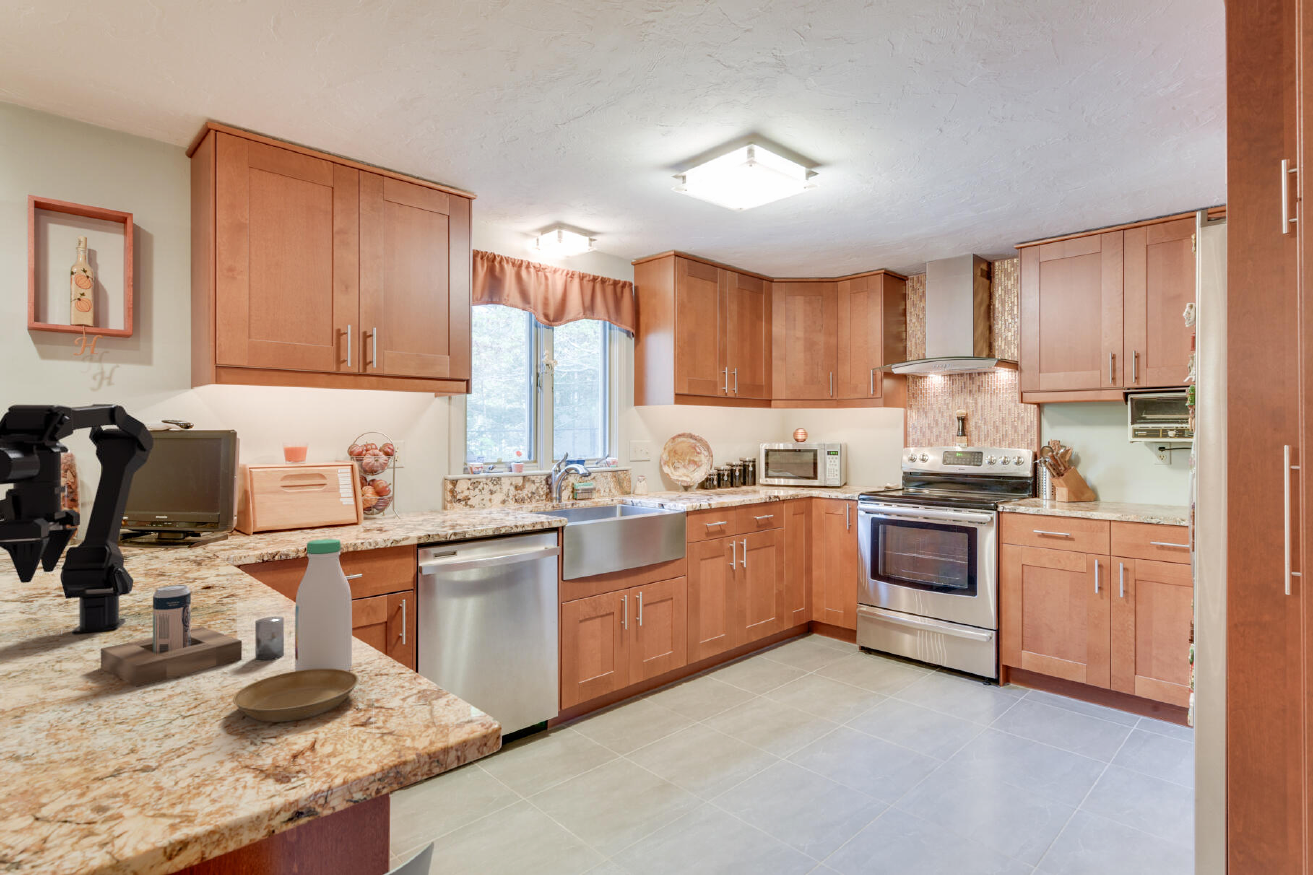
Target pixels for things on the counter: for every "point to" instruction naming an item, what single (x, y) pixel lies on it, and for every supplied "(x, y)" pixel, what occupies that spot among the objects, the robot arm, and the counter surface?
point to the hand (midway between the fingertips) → (37, 576)
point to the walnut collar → (169, 657)
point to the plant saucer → (295, 694)
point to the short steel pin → (269, 638)
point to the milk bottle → (323, 611)
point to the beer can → (171, 618)
